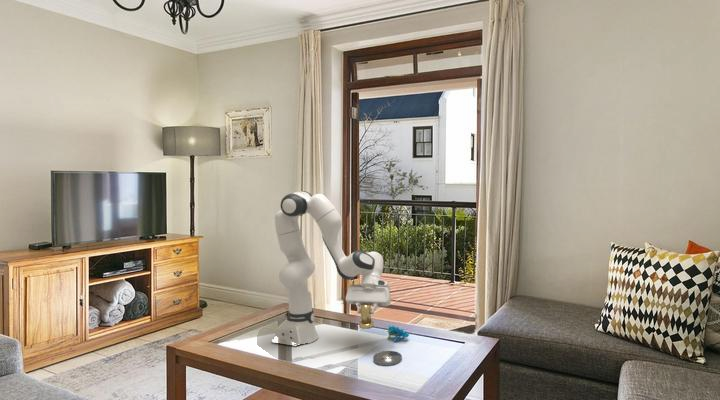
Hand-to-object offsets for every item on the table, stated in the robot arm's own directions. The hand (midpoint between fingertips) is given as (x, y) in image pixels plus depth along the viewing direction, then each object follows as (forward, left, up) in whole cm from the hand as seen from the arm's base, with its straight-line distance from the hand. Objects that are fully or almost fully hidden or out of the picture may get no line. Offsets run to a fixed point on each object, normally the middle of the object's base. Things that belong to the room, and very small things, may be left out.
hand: (365, 313), depth 196 cm
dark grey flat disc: (+10, -6, -17) cm, 21 cm away
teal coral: (+10, +15, -18) cm, 26 cm away
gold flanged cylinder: (0, +1, -6) cm, 6 cm away
